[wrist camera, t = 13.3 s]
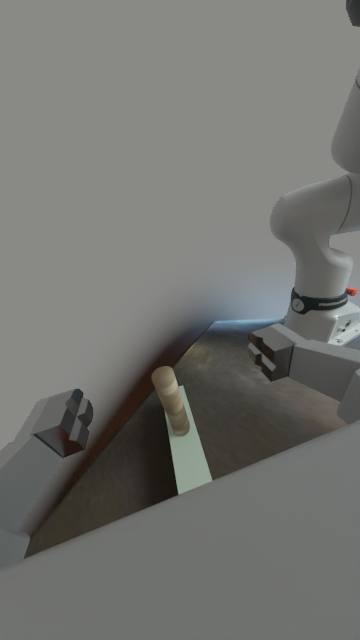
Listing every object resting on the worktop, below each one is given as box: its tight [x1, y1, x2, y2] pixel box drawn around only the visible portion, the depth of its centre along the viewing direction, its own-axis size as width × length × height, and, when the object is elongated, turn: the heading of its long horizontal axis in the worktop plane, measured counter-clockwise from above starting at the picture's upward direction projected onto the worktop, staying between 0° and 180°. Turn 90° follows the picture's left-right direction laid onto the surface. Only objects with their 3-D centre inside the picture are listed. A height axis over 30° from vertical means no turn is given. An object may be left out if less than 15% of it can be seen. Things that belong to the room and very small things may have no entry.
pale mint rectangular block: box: [165, 385, 212, 494], centre depth 32 cm, size 5×18×6 cm, turn 13°
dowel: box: [152, 366, 190, 436], centre depth 27 cm, size 3×3×14 cm
